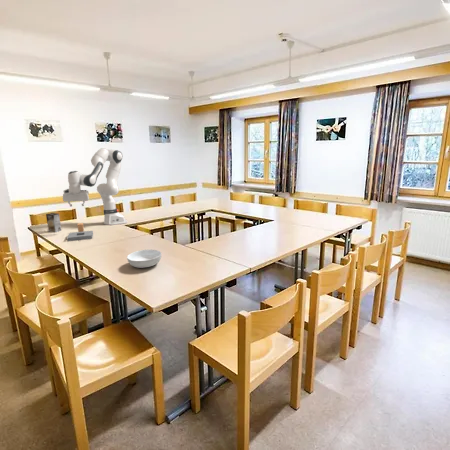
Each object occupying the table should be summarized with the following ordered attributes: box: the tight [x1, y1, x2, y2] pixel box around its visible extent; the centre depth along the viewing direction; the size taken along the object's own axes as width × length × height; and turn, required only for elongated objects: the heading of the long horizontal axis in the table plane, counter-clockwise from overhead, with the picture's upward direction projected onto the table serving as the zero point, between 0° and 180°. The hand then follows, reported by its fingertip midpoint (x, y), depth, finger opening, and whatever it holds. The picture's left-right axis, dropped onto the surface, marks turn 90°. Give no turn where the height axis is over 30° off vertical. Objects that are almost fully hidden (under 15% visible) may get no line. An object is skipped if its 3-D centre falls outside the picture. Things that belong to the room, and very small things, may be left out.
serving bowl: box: [126, 249, 162, 269], centre depth 187 cm, size 21×21×7 cm
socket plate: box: [66, 230, 94, 242], centre depth 249 cm, size 18×16×3 cm
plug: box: [77, 222, 85, 232], centre depth 263 cm, size 4×5×8 cm
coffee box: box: [45, 212, 62, 233], centre depth 268 cm, size 9×6×16 cm
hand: (76, 206), depth 260 cm, fingers open, 8 cm apart
